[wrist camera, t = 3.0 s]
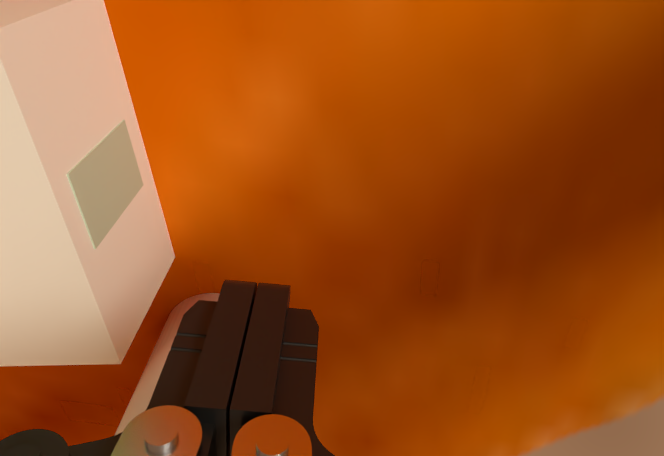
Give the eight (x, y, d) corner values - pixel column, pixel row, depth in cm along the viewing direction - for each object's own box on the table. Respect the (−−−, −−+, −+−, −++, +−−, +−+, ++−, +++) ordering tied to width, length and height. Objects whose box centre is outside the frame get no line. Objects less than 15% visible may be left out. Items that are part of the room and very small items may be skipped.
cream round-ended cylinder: (279, 298, 23) (250, 443, 17) (276, 380, 25) (250, 530, 19) (161, 287, 23) (89, 428, 17) (171, 371, 25) (112, 518, 19)
